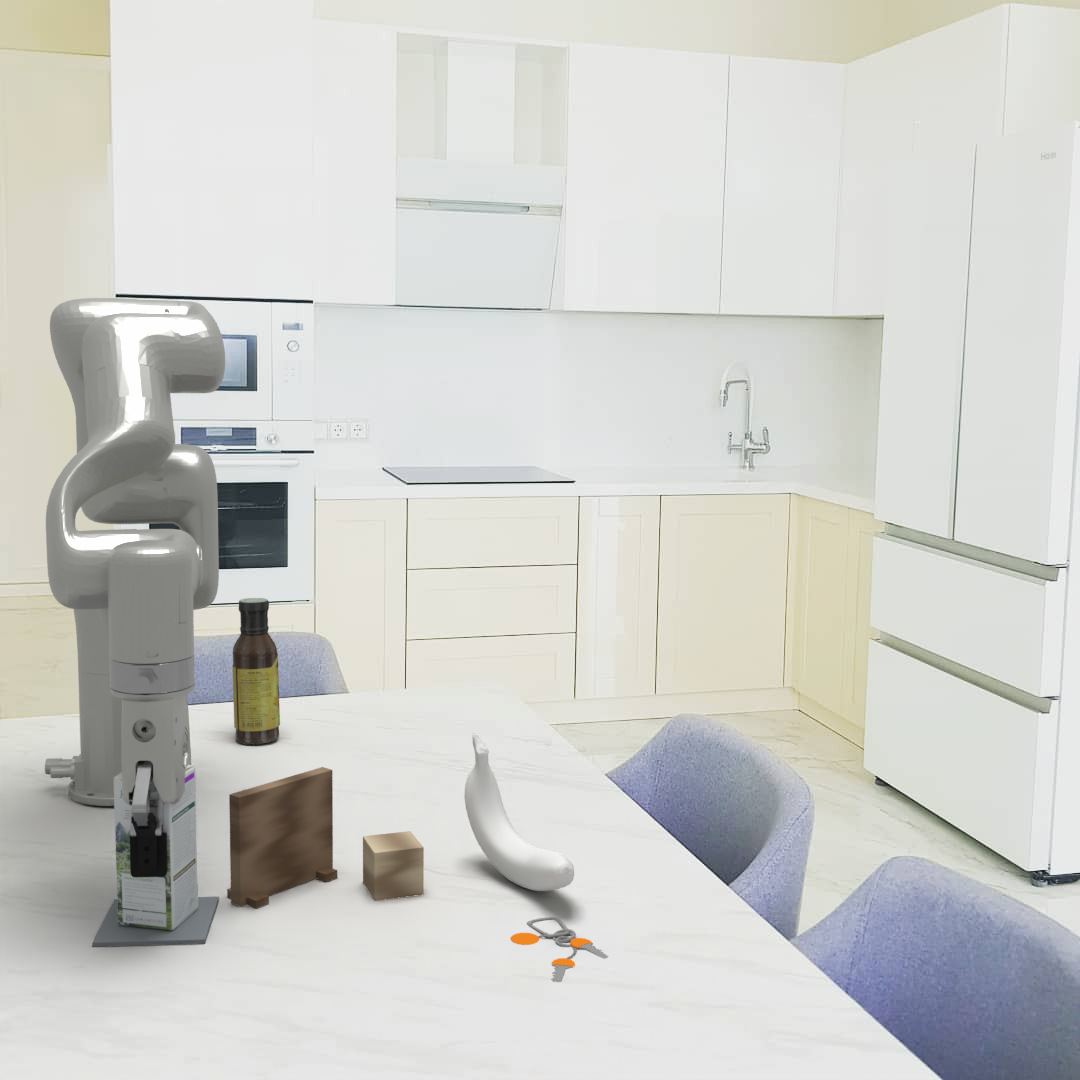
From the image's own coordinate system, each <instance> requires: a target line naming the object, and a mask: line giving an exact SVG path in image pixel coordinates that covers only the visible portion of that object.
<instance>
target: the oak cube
mask: <svg viewBox="0 0 1080 1080" xmlns="http://www.w3.org/2000/svg"><path fill="white" fill-rule="evenodd" d="M424 849H425V848H424V846H423V844H422V843H420V841H419V840H418V838H417V837H416V836H415V835H414V833H413V832H412V831H411V830H409V831H408V830H407V831H399V832H390V833H389V832H388V833H381V834H371V835H363V836H362V883H363V885H364V886H365V888H366V890H367V891H368V893H369V894H370V895H371V898H372V899H373V901H374V902H375V901H384V900H385V899H386V900H391V899H392V900H394V899H400V898H401V897H402V898H407V897H406V896H410V897H415V896H414V895H418V896H423V895H424V881H425V880H424V875H425V874H424V871H425V870H424V869H425V868H424V867H425V865H424V864H425V863H424V861H425V860H424V859H425V857H424V855H425V853H424ZM422 894H423V895H422ZM398 897H400V898H398ZM393 898H394V899H393Z"/></svg>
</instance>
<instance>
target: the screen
mask: <svg viewBox="0 0 1080 1080" xmlns="http://www.w3.org/2000/svg"><path fill="white" fill-rule="evenodd" d="M228 795H229V798H228V799H229V804H228V805H229V860H230V861H229V862H230V864H229V865H230V868H229V870H230V871H229V872H230V888H227V889H226V893H227V896H226V897H227V898H229V899H230V903H231V904H233V905H235V906H238V907H241V908H242V907H244V906H248V907H252V908H254V909H259V908H261V907H264V906H267V905H270V897H271V896H273V895H277V894H279V893H281V892H284V891H287V890H289V889H292V888H294V887H298V886H300V885H302V884H305V883H308V882H310V881H313V880H316V879H317V880H320V881H322V882H325V883H327V882H330V881H333V880H335V879H337V878H338V869H335V868H334V866H333V865H334V862H333V861H334V849H333V848H334V843H333V842H334V841H333V839H334V838H333V837H334V836H333V835H334V834H333V831H334V828H333V827H334V826H333V825H334V824H333V817H334V816H333V814H334V813H333V812H334V811H333V809H334V807H333V769H330V768H327V767H324V766H322V767H317V768H314V769H312V770H307V771H304V772H300V773H297V774H294V775H291V776H288V777H287V776H286V777H283V778H280V779H278V780H277V779H276V780H274V781H270V782H267V783H263V784H260V785H256V786H253V787H250V788H246V789H242V790H240V791H239V790H238V791H237V792H233V793H230V794H228Z"/></svg>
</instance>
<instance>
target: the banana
mask: <svg viewBox="0 0 1080 1080" xmlns="http://www.w3.org/2000/svg"><path fill="white" fill-rule="evenodd" d="M471 739H472V746H473V750H474V755H475V756H474V757H475V763H474V766H473V767H472V768H471V770H470V772H469V774H468V775H467V778H466V780H465V784H464V803H465V810H466V814H467V818H468V821H469V824H470V828H471V831H472V833H473V835H474V837H475V839H476V842H477V844H478V846H479V847H480V849H481V850H482V852H483V853H484V855H485V856H486V858H487V860H488V861H489V862H490V863H491V865H492V866H493V867H494V868H495V869H496V870H497V871H498V872H499V873H500V874H501V875H502V876H503V877H504V878H506V879H507V880H509V881H510V882H511V883H514V884H515V885H517V886H519V887H522V888H525V889H528V890H531V891H535V892H536V891H537V892H547V891H548V892H549V891H554V890H559V889H562V888H565V887H567V886H569V885H571V884H572V882H573V881H574V877H575V868H574V864H573V863H572V861H571V860H570V859H569V858H568V857H566V856H565V854H563V853H561V852H558V851H556V850H550V849H549V850H548V849H545V848H544V849H543V848H539V847H537V846H534V845H533V844H531V843H529V842H528V841H526V840H525V839H523V838H522V836H520V834H519V832H518V831H516V829H515V827H514V826H513V825H512V824H513V823H512V822H511V821H510V819H509V816H508V815H507V812H506V809H505V806H504V802H503V799H502V796H501V791H500V789H499V785H498V781H497V778H496V776H495V773H494V771H493V770H492V769H491V766H490V763H489V749H488V747H487V745H486V743H484V741H483V739H482V738H481V736H479V735H478V734H476V733H473V734H472V738H471Z"/></svg>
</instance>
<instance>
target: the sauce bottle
mask: <svg viewBox="0 0 1080 1080" xmlns="http://www.w3.org/2000/svg"><path fill="white" fill-rule="evenodd" d="M269 606H270V602H269V600H268V599H267V598H265V597H248V598H241V599H239V601H238V612H239V613H240V627H239V630H240V635H239V636H238V638H237V639H236V641H235V643H234V644H233V648H232V662H233V663H232V689H233V690H232V694H233V696H232V697H233V700H232V701H233V724H234V725H233V727H234V729H235V735H234V736H235V737H234V738H235V741H236V742H237V743H239V744H241V743H242V745H247V744H253V745H254V746H255V744H256V745H261V744H267V743H272V742H274V741H276V740H277V739H279V736H280V725H281V716H280V715H281V713H280V710H281V709H280V689H279V688H280V683H279V681H280V680H279V678H280V677H279V654H278V649H277V645H276V643H275V642H274V640H273V638H272V637H271V635H270V633H269V623H268V622H269V618H268V614H269V613H268V612H269V608H270V607H269ZM271 741H272V742H271Z"/></svg>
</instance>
